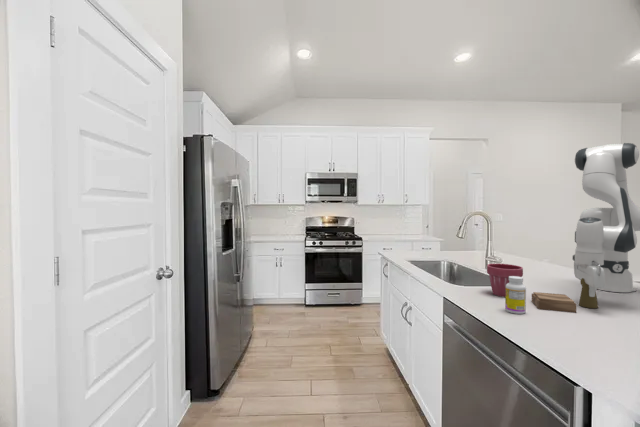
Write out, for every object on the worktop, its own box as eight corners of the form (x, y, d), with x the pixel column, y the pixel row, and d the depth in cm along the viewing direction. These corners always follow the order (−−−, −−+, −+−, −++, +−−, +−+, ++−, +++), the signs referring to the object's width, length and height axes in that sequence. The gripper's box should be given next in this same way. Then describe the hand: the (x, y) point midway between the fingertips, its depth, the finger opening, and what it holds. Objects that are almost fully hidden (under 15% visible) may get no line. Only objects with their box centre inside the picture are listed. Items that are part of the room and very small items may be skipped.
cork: (601, 308, 133) (602, 279, 132) (584, 307, 134) (584, 279, 133) (592, 304, 138) (592, 276, 138) (575, 303, 140) (575, 276, 139)
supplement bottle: (508, 308, 133) (509, 274, 133) (528, 311, 129) (528, 277, 128) (502, 311, 129) (503, 277, 128) (522, 315, 124) (523, 279, 124)
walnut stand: (531, 301, 143) (531, 291, 143) (565, 304, 139) (566, 294, 139) (538, 309, 132) (538, 298, 132) (576, 312, 128) (576, 301, 128)
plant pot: (521, 300, 144) (522, 270, 144) (484, 295, 152) (485, 266, 151) (522, 293, 156) (523, 265, 156) (488, 289, 164) (488, 262, 163)
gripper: (610, 264, 125) (610, 302, 125) (589, 256, 144) (588, 289, 144) (589, 263, 127) (588, 300, 127) (570, 255, 146) (570, 287, 146)
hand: (588, 294), depth 136 cm, fingers closed on cork, 5 cm apart
